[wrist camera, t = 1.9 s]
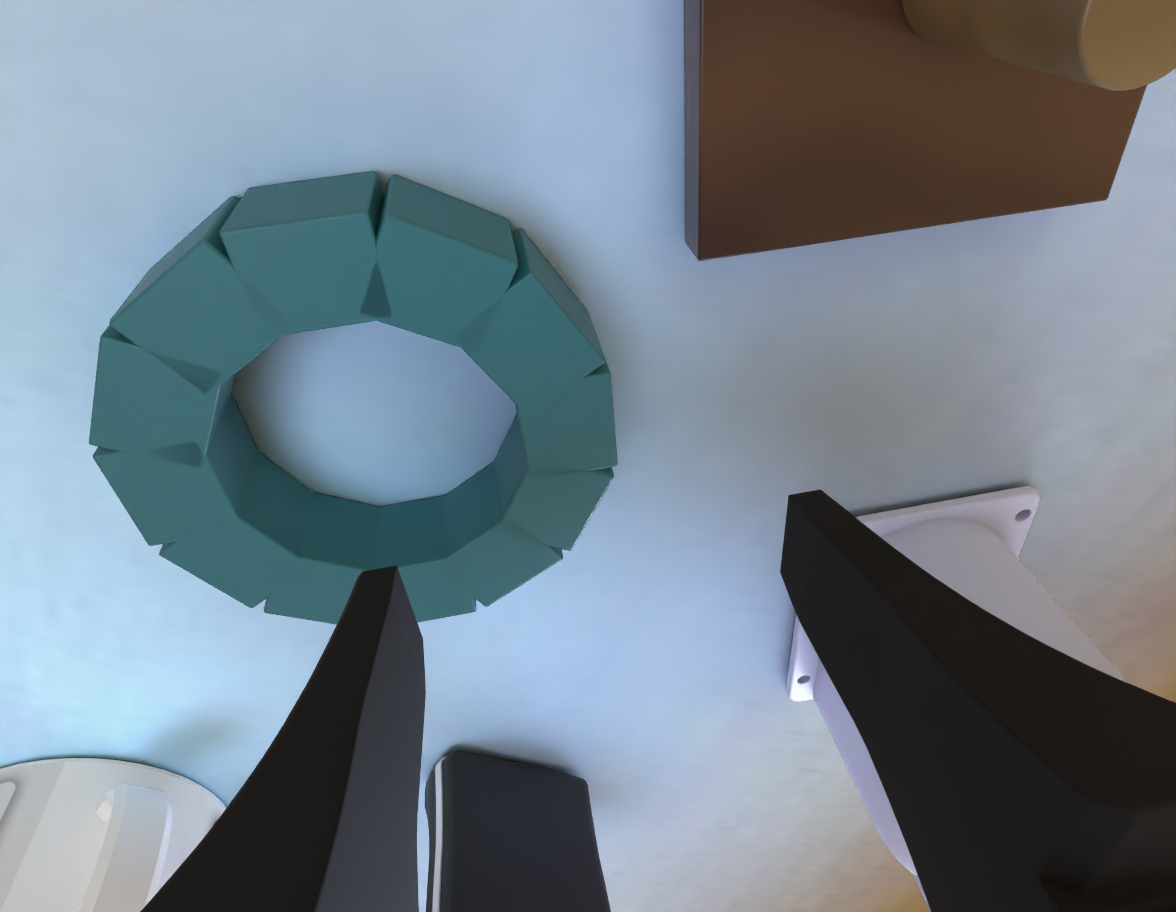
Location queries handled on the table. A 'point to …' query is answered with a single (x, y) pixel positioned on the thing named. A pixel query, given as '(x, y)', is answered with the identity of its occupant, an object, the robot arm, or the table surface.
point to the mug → (95, 833)
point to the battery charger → (510, 839)
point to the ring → (336, 298)
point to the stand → (905, 112)
